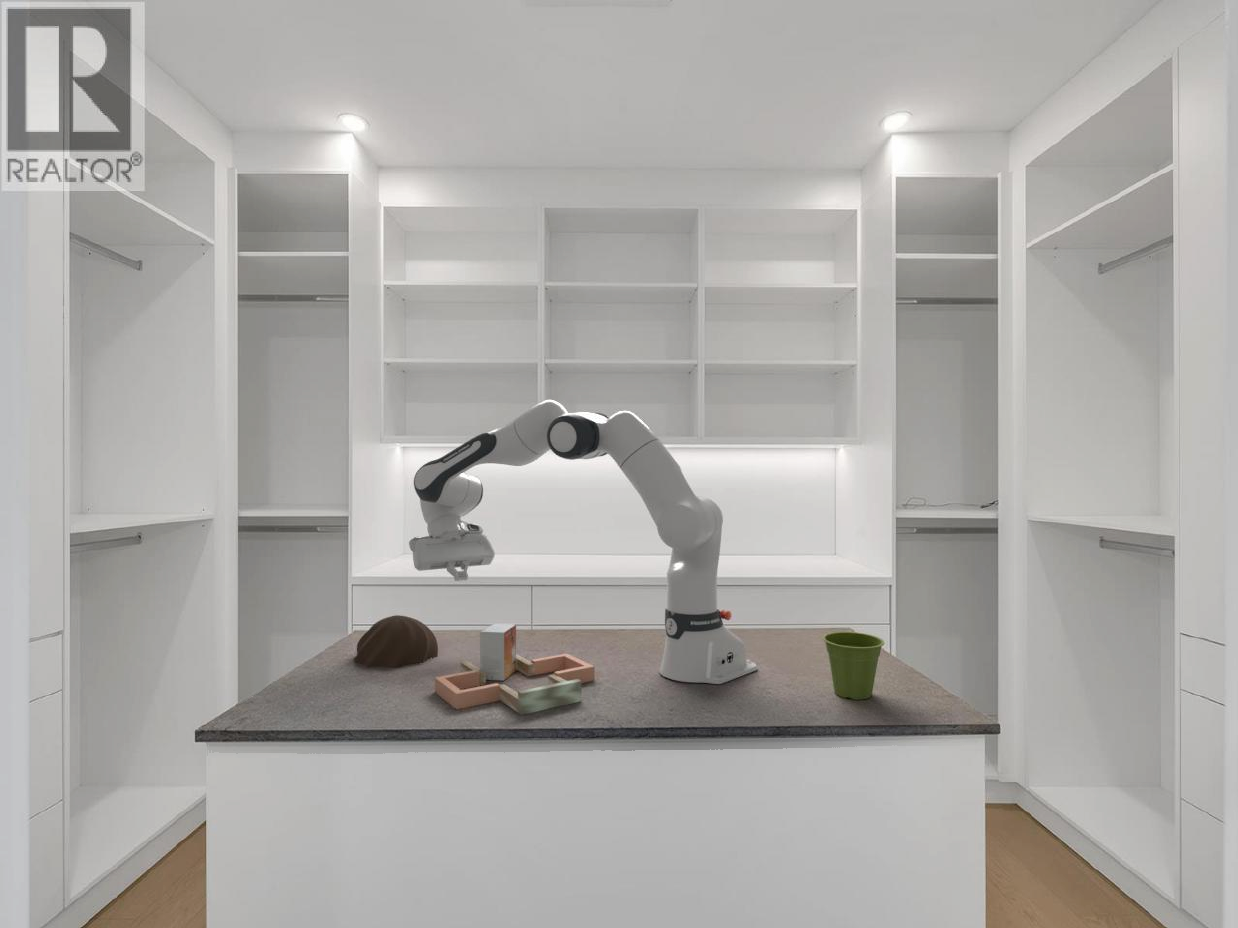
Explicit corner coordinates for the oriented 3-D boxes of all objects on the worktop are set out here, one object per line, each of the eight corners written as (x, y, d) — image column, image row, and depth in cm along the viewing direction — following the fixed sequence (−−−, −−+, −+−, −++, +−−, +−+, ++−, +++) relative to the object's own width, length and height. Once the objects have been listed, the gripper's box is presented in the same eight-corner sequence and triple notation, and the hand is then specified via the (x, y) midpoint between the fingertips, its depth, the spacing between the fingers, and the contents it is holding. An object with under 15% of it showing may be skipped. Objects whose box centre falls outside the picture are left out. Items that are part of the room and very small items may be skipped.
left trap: (476, 683, 148) (476, 669, 148) (500, 700, 138) (500, 685, 138) (434, 691, 143) (434, 677, 143) (456, 709, 133) (456, 693, 133)
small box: (504, 681, 150) (504, 632, 150) (479, 680, 151) (479, 631, 151) (517, 670, 158) (516, 623, 158) (493, 668, 159) (493, 622, 159)
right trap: (566, 666, 161) (566, 653, 160) (594, 680, 151) (594, 666, 151) (531, 673, 155) (531, 659, 155) (557, 687, 146) (557, 673, 146)
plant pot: (810, 692, 143) (810, 637, 143) (845, 681, 150) (845, 628, 150) (861, 709, 133) (861, 650, 133) (896, 696, 141) (896, 640, 140)
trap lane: (513, 663, 163) (513, 646, 163) (581, 701, 138) (581, 680, 138) (460, 673, 156) (460, 655, 156) (521, 714, 130) (521, 693, 130)
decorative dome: (335, 662, 165) (335, 619, 165) (396, 642, 182) (396, 604, 182) (398, 673, 156) (398, 628, 156) (455, 651, 174) (455, 611, 174)
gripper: (410, 529, 172) (423, 575, 164) (487, 525, 183) (503, 567, 175) (404, 545, 176) (416, 591, 168) (480, 540, 187) (495, 582, 179)
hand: (461, 579), depth 172 cm, fingers closed
